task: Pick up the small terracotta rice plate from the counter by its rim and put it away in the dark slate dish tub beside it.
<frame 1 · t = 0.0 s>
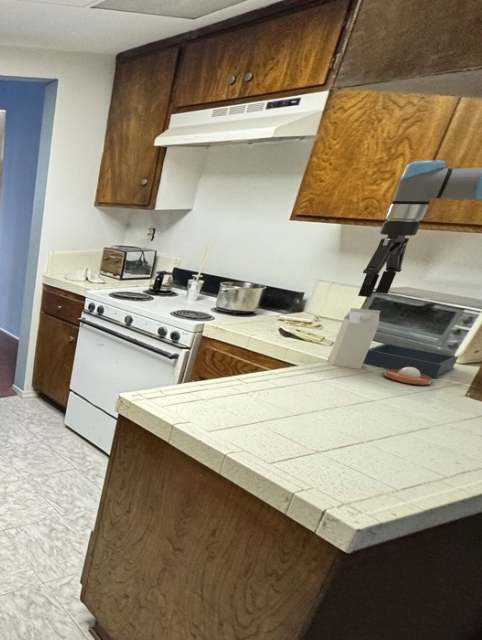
hand: (372, 294, 142), 25 cm above the counter, tool pointing down, fingers open, 13 cm apart
dish tub: (404, 367, 156), on the counter
rice plate: (405, 380, 142), on the counter
milk carton: (342, 366, 157), on the counter
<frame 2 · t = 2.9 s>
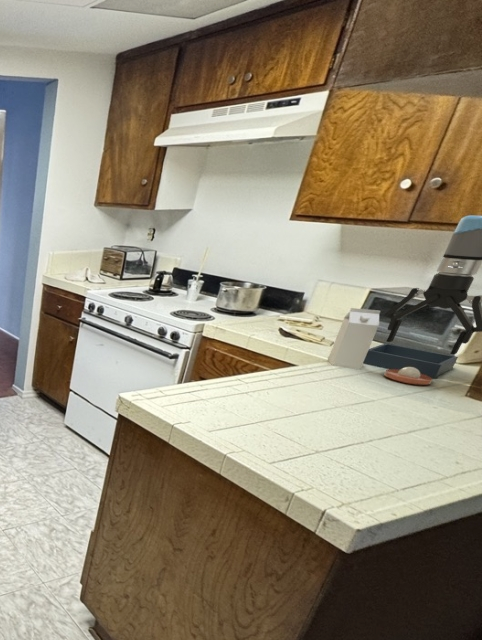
hand: (420, 347, 139), 11 cm above the counter, tool pointing down, fingers open, 13 cm apart
nothing on the counter moved.
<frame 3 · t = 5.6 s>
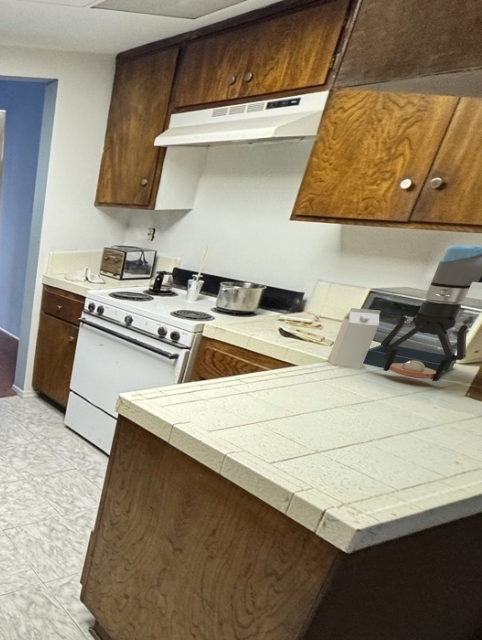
hand: (410, 375, 141), 2 cm above the counter, tool pointing down, fingers closed on rice plate, 10 cm apart
rice plate: (410, 374, 141), point 3 cm above the counter, touching gripper
everything else where it was.
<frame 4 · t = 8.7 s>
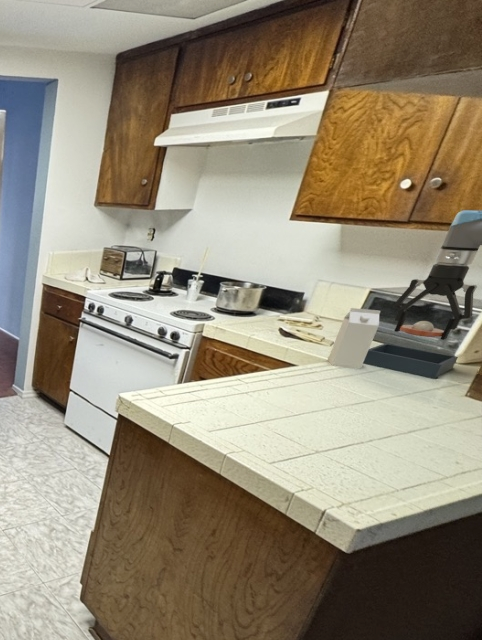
hand: (419, 335, 151), 11 cm above the counter, tool pointing down, fingers closed on rice plate, 10 cm apart
rice plate: (419, 334, 151), point 12 cm above the counter, touching gripper
everything else where it was.
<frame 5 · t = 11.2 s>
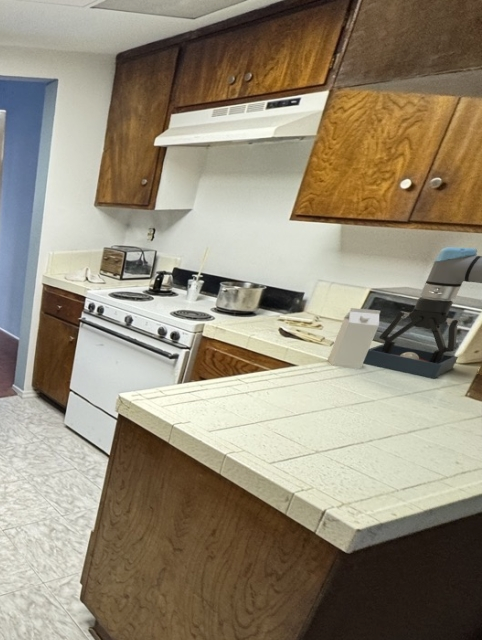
hand: (405, 365, 155), 1 cm above the counter, tool pointing down, fingers closed on rice plate, 10 cm apart
rice plate: (405, 364, 155), point 1 cm above the counter, touching gripper
everything else where it was.
when the fingers open (1 cm above the counter, at t = 11.6 s): rice plate stays where it is, resting on dish tub.
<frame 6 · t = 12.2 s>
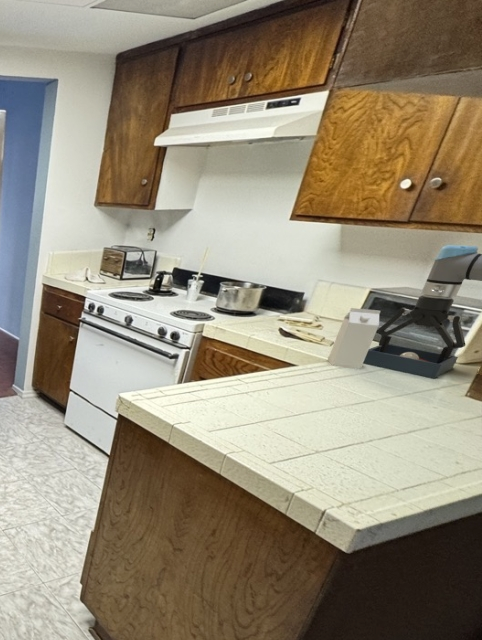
hand: (408, 361, 155), 2 cm above the counter, tool pointing down, fingers open, 13 cm apart
rice plate: (405, 364, 155), point 1 cm above the counter, touching dish tub
everything else where it was.
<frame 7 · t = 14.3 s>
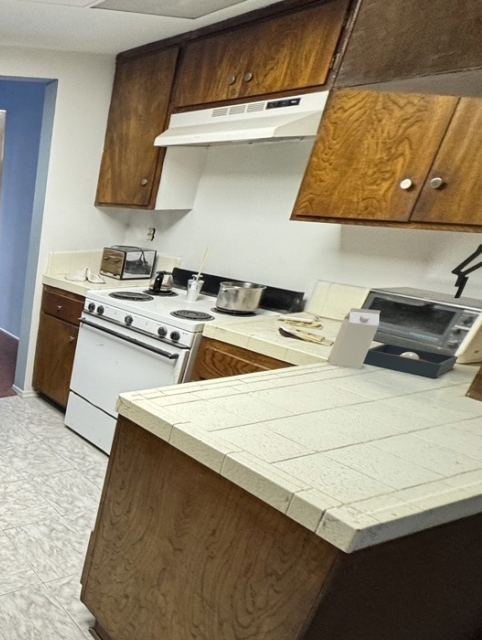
nothing on the counter moved.
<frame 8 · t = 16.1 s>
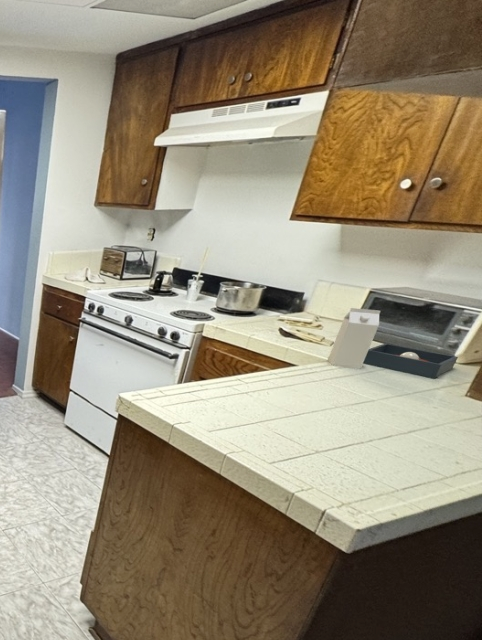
nothing on the counter moved.
at the end: rice plate inside the target area in the dish tub (0.0 cm from its centre), point 1.1 cm above the dish tub's base; rice plate tilted 0°; the gripper is holding nothing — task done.
